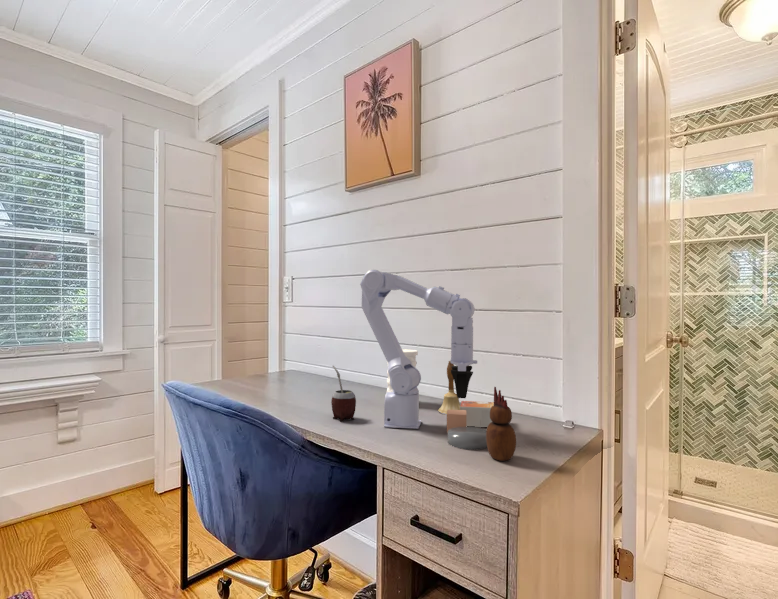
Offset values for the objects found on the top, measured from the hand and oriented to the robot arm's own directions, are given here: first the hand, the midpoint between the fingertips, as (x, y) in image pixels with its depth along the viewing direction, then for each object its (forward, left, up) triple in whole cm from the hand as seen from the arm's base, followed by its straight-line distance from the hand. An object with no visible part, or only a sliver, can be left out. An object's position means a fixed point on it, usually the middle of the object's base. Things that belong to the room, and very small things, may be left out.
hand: (461, 395), depth 113 cm
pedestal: (+2, -10, -9) cm, 14 cm away
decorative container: (-20, +30, -10) cm, 37 cm away
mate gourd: (-34, +6, -10) cm, 36 cm away
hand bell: (-3, +21, -10) cm, 23 cm away
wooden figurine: (+8, -20, -10) cm, 24 cm away
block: (-1, 0, -10) cm, 10 cm away
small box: (+10, +8, -7) cm, 15 cm away
